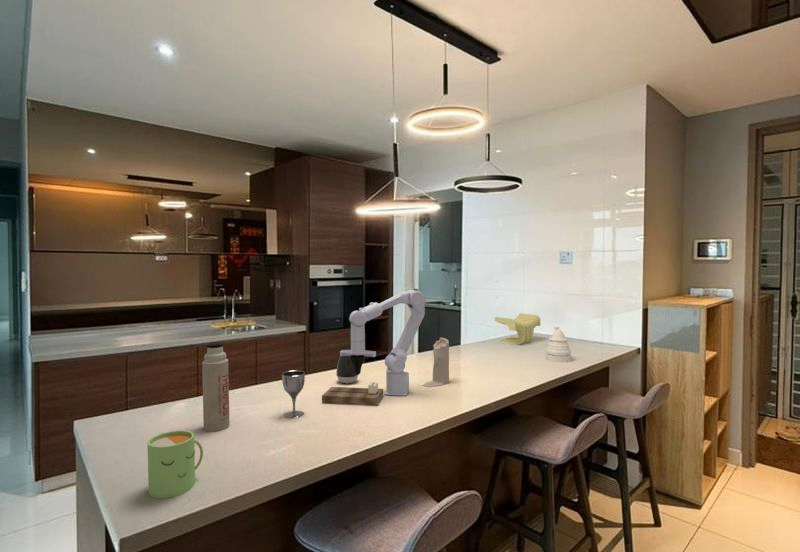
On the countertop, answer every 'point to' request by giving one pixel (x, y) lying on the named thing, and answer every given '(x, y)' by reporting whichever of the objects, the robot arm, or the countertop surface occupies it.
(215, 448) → the countertop surface
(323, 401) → the fader console
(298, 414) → the silver metal goblet
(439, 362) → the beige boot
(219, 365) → the thermos bottle
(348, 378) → the pump dispenser
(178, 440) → the mug
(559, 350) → the honey pot
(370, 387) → the fader tab
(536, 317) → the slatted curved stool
